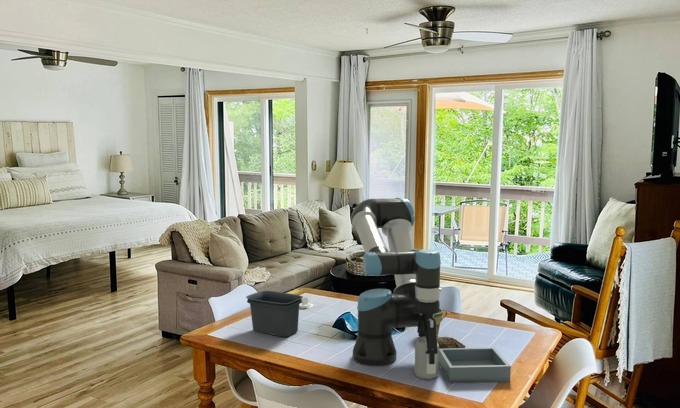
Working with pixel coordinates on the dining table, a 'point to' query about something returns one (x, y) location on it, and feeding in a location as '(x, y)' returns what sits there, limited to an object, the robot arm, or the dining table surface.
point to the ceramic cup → (439, 319)
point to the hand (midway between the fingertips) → (426, 364)
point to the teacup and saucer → (305, 303)
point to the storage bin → (274, 312)
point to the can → (424, 359)
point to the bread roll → (449, 343)
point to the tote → (474, 365)
